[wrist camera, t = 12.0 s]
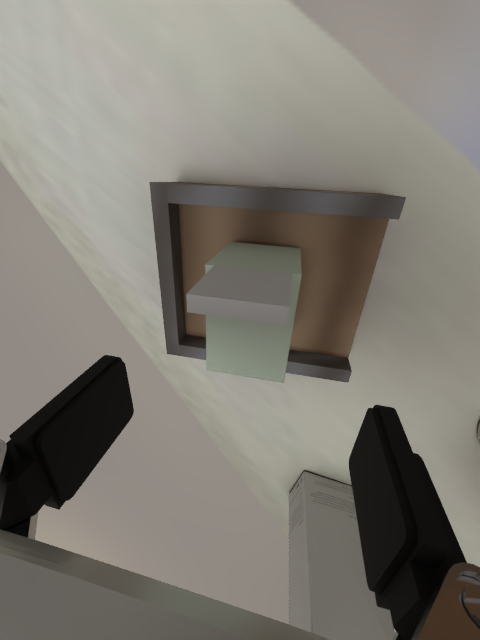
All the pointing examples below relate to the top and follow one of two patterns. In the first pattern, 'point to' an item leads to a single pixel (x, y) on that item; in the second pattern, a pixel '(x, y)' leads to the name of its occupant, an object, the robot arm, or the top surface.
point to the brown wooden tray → (276, 230)
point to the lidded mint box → (249, 308)
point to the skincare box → (330, 565)
